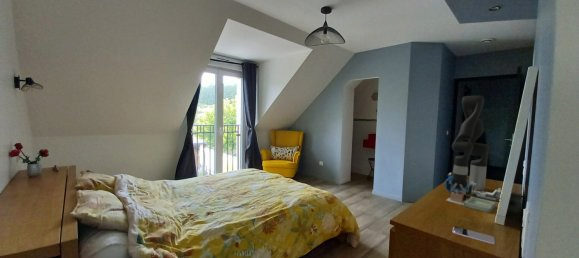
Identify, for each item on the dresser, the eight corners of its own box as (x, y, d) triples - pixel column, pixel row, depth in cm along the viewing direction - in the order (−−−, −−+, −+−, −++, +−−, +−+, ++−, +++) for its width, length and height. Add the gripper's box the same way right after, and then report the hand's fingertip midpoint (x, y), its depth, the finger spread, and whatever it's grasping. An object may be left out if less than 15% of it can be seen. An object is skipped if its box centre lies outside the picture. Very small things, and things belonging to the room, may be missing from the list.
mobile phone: (495, 243, 101) (452, 231, 110) (494, 245, 101) (452, 233, 111) (493, 235, 107) (453, 225, 116) (493, 237, 107) (453, 227, 117)
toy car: (467, 182, 159) (468, 178, 168) (466, 196, 160) (467, 192, 169) (503, 188, 148) (502, 184, 156) (501, 203, 148) (501, 198, 157)
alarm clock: (469, 196, 159) (470, 174, 158) (467, 198, 155) (469, 176, 153) (446, 191, 168) (447, 170, 167) (443, 193, 164) (445, 171, 163)
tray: (471, 200, 152) (471, 196, 152) (494, 206, 143) (495, 202, 143) (464, 206, 142) (464, 202, 142) (489, 213, 133) (489, 208, 133)
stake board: (452, 196, 158) (453, 185, 158) (469, 200, 151) (470, 189, 151) (446, 200, 150) (446, 189, 149) (463, 205, 143) (464, 194, 142)
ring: (455, 196, 157) (456, 189, 157) (466, 198, 153) (467, 192, 152) (449, 199, 150) (450, 193, 150) (461, 202, 145) (461, 195, 145)
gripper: (476, 174, 146) (473, 200, 148) (449, 169, 157) (447, 194, 159) (472, 176, 142) (470, 203, 143) (445, 171, 153) (443, 196, 154)
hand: (458, 198), depth 151 cm, fingers closed on ring, 6 cm apart
